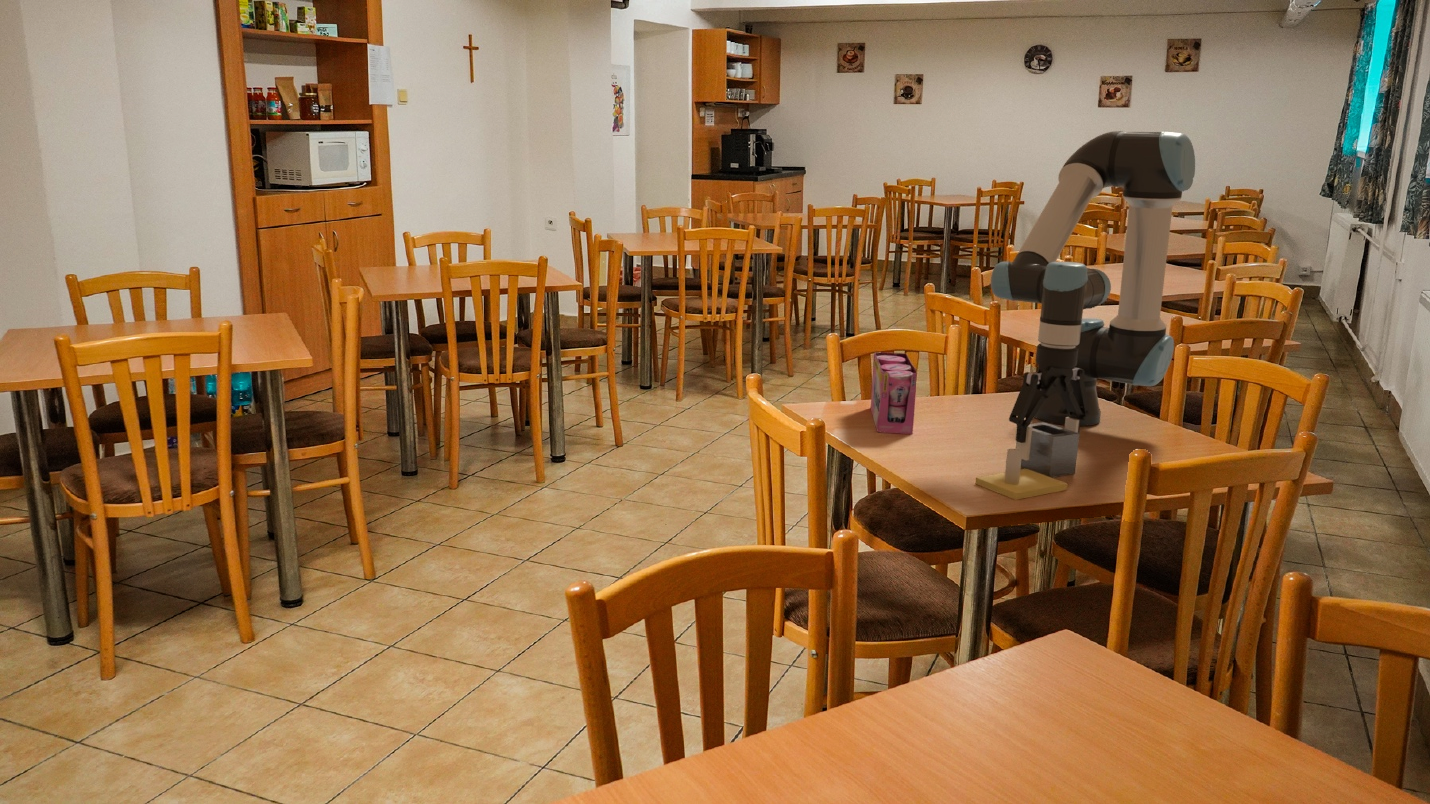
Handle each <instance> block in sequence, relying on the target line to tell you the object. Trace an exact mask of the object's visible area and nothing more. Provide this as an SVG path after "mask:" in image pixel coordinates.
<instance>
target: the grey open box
mask: <svg viewBox="0 0 1430 804" xmlns="http://www.w3.org/2000/svg"><path fill="white" fill-rule="evenodd" d="M1029 426H1031V427H1032V435H1031V445H1030V454H1029V460H1023V459H1021V468H1020V469H1029V470H1032V471H1034V472H1037V473H1040V474H1043V475H1045V476H1048V477H1051V478H1053V479H1054V478H1056V477H1064V476H1068V475H1074V474H1076V468H1077V460H1078V459H1077V457H1078V453H1079V452H1078V451H1079V442H1080V432H1079V433H1077V432H1074V431H1070V430H1067V429H1064V427H1060V426H1057V425H1055V424H1052V423H1049V422H1046V421H1043V422H1034V423H1030V425H1029ZM1015 441H1016V440H1015ZM1015 443H1016V445H1015V448H1016V447H1017V441H1016V442H1015Z"/></svg>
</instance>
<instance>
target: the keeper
mask: <svg viewBox="0 0 1430 804" xmlns="http://www.w3.org/2000/svg"><path fill="white" fill-rule="evenodd" d="M1021 459H1022V451H1021V450H1019V449H1016V448H1008V449H1007V452H1006V461H1005V469H1004V470H1005V472H999V473H994V474H993V473H992V474H987V475H983V476H976V477H975V483H974V484H975V485H977V486H980V487H983V488H985V489H987V490H990V491H992V492H995V493H997V494H1000V495H1002V496H1005V497H1008V498H1009V499H1012V500H1014V501H1015V500H1021V499H1026V498H1032V497H1038V496H1042V495H1048V494H1052V493H1057V492H1063V491H1067V490H1068V483H1067V482H1064V481H1061V480H1059V479H1056V478H1054V477H1053V478H1051V477H1048V476H1045V475H1043V474H1040V473H1037V472H1034V471H1032V470H1029V469H1023V468H1021Z"/></svg>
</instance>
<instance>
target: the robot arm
mask: <svg viewBox="0 0 1430 804" xmlns="http://www.w3.org/2000/svg"><path fill="white" fill-rule="evenodd" d="M1195 154H1196V153H1195V149H1194V146H1193V143H1192V140H1191V139H1190V138H1189V137H1188V135H1186V134H1185V133H1181V132H1172V131H1171V132H1170V131H1165V130H1164V131H1123V130H1114V131H1109V132H1106V133H1102V134H1100V135H1098V136H1095V137H1094V138H1093V139H1089V141H1087V142H1085V143H1084V144H1082V145H1081V147H1079V148H1078V149H1077V150H1076V151H1074V152H1073V153H1072V155H1071V156H1070V157H1069V158H1068V159H1066V161H1065V163H1064V164H1063V165H1062V168H1061V169H1060V171H1059V173H1058V178H1057V179H1058V184H1057V185H1056V187H1055V189H1054V191H1053V192H1052V195H1050V198H1049V200H1047V202H1046V205H1045V206H1044V208H1043V210H1042V211H1041V213H1040V215H1039V217H1038V218H1037V220H1036V222H1035V223H1034V225H1033V227H1032V228H1031V230H1030V232H1029V233H1028V235H1027V237H1026V239H1024V242H1023V244H1022V246H1021V247H1020V249H1019V251H1018V253H1017V254H1016V256H1014V257H1015V258H1013V260H1012V261H1010V260H1008V261H1001V262H1000V261H999V263H997V264H995V266H994V268H993V270H992V272H991V278H990V288H991V290H992V294H993V295H994V297H997V298H999V299H1004V300H1008V301H1011V302H1015V301H1016V302H1026V303H1033V304H1034V303H1035V304H1041V307H1040V316H1039V327H1038V335H1037V337H1038V338H1037V342H1039V344H1038V345H1036V353H1035V359H1034V360H1035V363H1036V365H1037V367H1038V368H1037V371H1036V372H1035V373H1032V372H1028V371H1027V372H1025V373H1024V376H1023V383H1022V385H1021V388H1020V390H1019V392H1018V395H1017V397H1016V401H1014V402H1015V403H1014V405H1013V407H1012V410H1011V413H1010V414H1009V417H1008V421H1009V422H1011V423H1013V424H1016V432H1015V433H1016V434H1015V441H1017V447H1016V446H1015V449H1019V450H1021V451H1022V459H1023V460H1029V454H1030V445H1031V435H1032V427H1031V426H1029V425H1030V424H1032V421H1033V420H1034V418H1035V419H1038V420H1040V421H1043V422H1045V423H1049V424H1054V425H1055V424H1056V425H1062V426H1063V425H1064V427H1063V428H1064V429H1067V430H1070V431H1074V432H1077V433H1080V427H1083V426H1094V425H1097V424H1099V423H1100V422H1101V414H1102V412H1101V411H1102V410H1101V409H1100V406H1099V405H1100V403H1099V398H1098V392H1097V379H1099V380H1104V381H1110V382H1111V381H1112V382H1118V383H1123V384H1128V385H1133V386H1134V387H1135V386H1143V387H1153V386H1154V387H1155V386H1156V385H1157V384H1159V383H1160V382H1161V381H1162V380H1163V379H1164V377H1165V375H1166V374H1167V371H1168V369H1169V366H1170V365H1171V361H1172V358H1173V355H1174V349H1175V340H1174V337H1173V336H1171V335H1169V334H1167V333H1166V332H1167V324H1166V323H1165V322H1164V321H1163V319H1162V318H1161V313H1162V312H1161V310H1162V309H1161V308H1162V303H1163V302H1162V301H1163V295H1164V294H1163V293H1164V284H1165V275H1166V266H1167V258H1168V251H1169V250H1168V248H1169V240H1170V233H1171V225H1172V224H1171V223H1172V215H1173V207H1174V205H1176V204H1177V203H1179V201H1180V200H1181V199H1182V196H1183V192H1185V191H1188V190H1190V189H1191V188H1192V186H1193V184H1194V183H1193V182H1194V178H1195V173H1196V156H1195ZM1110 187H1114V188H1122V189H1123V190H1122V198H1123V199H1124V201H1125V202H1126V203H1127V204H1128V213H1127V214H1128V215H1127V223H1126V224H1127V225H1126V235H1125V243H1124V252H1123V260H1122V261H1123V263H1122V272H1121V281H1120V290H1119V292H1120V293H1119V301H1118V310H1117V311H1118V312H1117V315H1116V316H1115V317H1114V318H1112V320H1110V322H1109V324H1108V325H1109V327H1105V323H1104V320H1103V319H1100V318H1083V313H1084V310H1088V309H1092V308H1096V307H1098V306H1099V305H1101V304H1104V303H1105V302H1106V301H1107V300H1108V298H1109V296H1110V295H1111V292H1112V291H1111V289H1112V283H1111V281H1110V280H1111V279H1110V278H1109V276H1108V275H1107V274H1106V273H1105V272H1104V271H1102V270H1100V269H1097V268H1088V267H1087V265H1085V264H1084V263H1082V262H1076V261H1075V262H1073V261H1057V260H1058V258H1059V256H1060V254H1062V251H1063V250H1064V247H1065V246H1066V245H1067V243H1068V240H1069V239H1070V237H1071V236H1072V234H1073V232H1074V231H1075V228H1076V227H1077V225H1078V223H1079V221H1080V219H1081V218H1082V216H1083V214H1084V212H1085V211H1086V209H1087V208H1088V205H1089V204H1090V202H1091V201H1092V199H1094V198H1096V197H1098V196H1099V195H1101V193H1102V190H1103V189H1104V188H1110Z"/></svg>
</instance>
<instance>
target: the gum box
mask: <svg viewBox="0 0 1430 804" xmlns="http://www.w3.org/2000/svg"><path fill="white" fill-rule="evenodd" d="M917 374H918V373H917V369H916V368H915V366H914V365H913V363H912V362H911V359H910V358H909V356H908V353H903V352H901V353H900V352H883V351H881V352H879V351H877V352H874V354H873V363H872V376H871V377H872V381H871V395H870V397H871V398H870V412H871V411H872V412H871V414H872V419H873V423H874V426H875V429H876V431H877V433H884V434H887V433H888V434H904V435H905V434H906V435H913V434H914V433H913V432H914V423H915V421H914V420H915V408H916V392H917V378H918V377H917Z"/></svg>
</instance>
